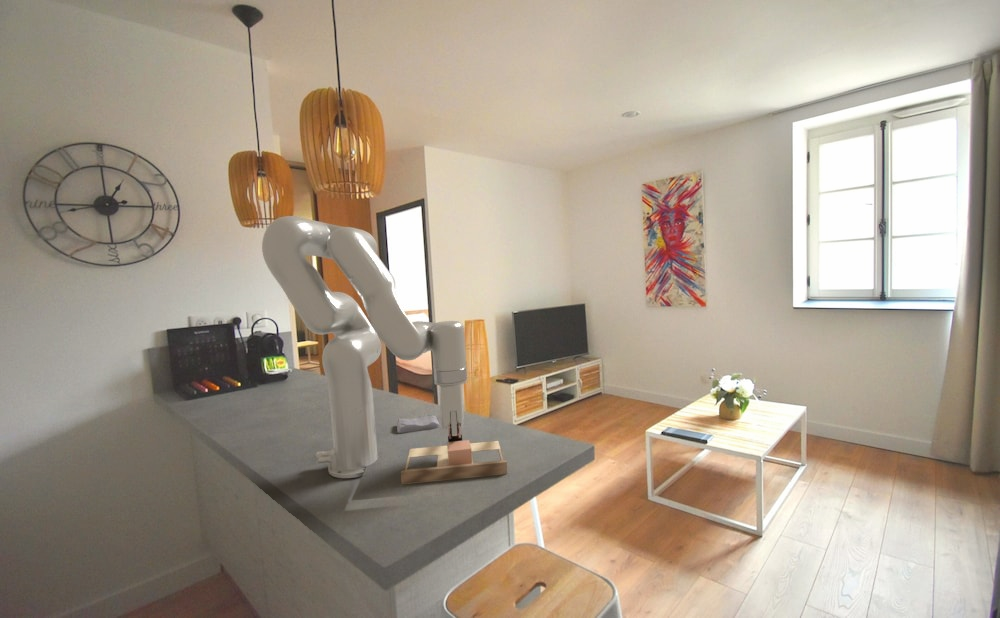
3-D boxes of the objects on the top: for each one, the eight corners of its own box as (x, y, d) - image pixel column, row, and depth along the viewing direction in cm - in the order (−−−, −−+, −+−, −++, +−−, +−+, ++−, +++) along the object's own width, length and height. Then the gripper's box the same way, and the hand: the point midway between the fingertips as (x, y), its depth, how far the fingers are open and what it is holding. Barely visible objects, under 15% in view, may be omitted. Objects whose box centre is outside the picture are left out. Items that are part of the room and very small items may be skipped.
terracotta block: (449, 473, 92) (448, 451, 92) (448, 463, 97) (446, 442, 97) (472, 470, 93) (471, 448, 93) (470, 461, 98) (469, 439, 98)
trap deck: (402, 490, 89) (400, 472, 89) (410, 454, 107) (409, 439, 107) (507, 480, 91) (506, 462, 91) (498, 446, 109) (497, 431, 109)
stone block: (395, 434, 126) (397, 439, 117) (395, 417, 127) (396, 421, 117) (436, 430, 130) (441, 434, 120) (435, 413, 130) (440, 417, 121)
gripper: (434, 369, 105) (440, 442, 107) (433, 385, 91) (439, 469, 92) (465, 367, 106) (470, 439, 108) (468, 382, 91) (474, 465, 93)
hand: (456, 453), depth 100 cm, fingers closed
